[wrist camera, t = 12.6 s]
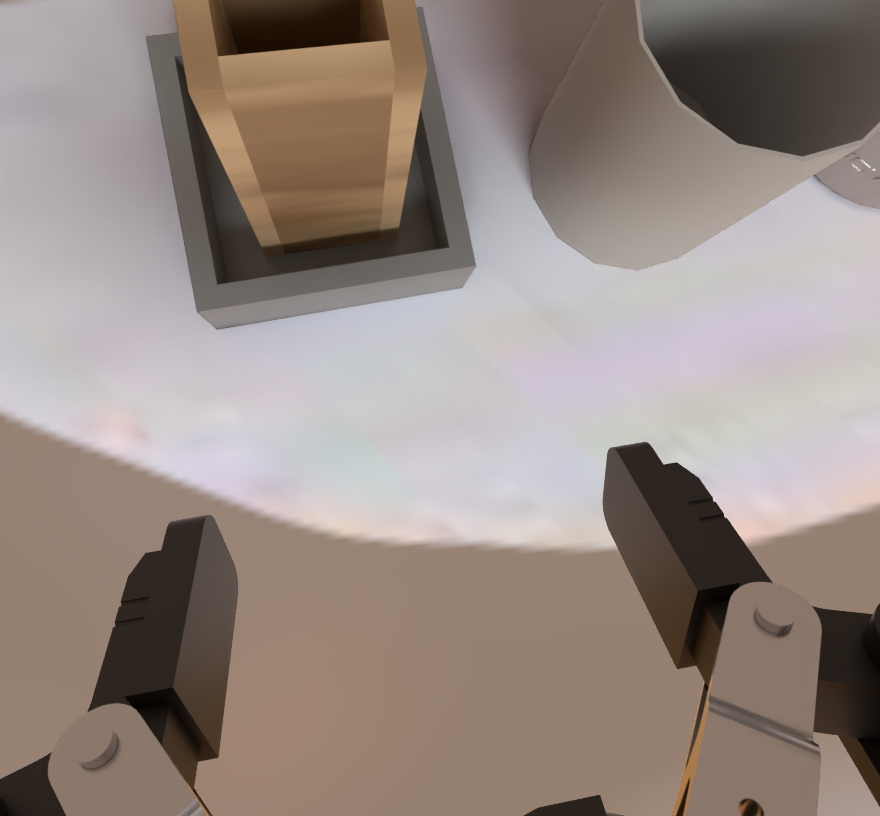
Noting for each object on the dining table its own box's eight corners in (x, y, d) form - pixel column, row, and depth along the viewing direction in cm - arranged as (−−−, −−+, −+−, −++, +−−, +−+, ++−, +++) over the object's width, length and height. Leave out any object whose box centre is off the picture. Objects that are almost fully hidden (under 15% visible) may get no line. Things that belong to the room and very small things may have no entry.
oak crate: (244, 129, 24) (149, -138, 13) (374, 114, 25) (386, -151, 14) (266, 256, 24) (188, 92, 13) (396, 238, 25) (427, 67, 14)
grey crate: (171, 86, 25) (145, 36, 22) (415, 58, 26) (422, 6, 23) (217, 329, 24) (197, 312, 21) (462, 287, 25) (476, 265, 22)
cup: (520, 76, 26) (617, -150, 17) (705, 73, 28) (900, -140, 18) (541, 276, 26) (654, 166, 16) (729, 265, 27) (942, 156, 17)
